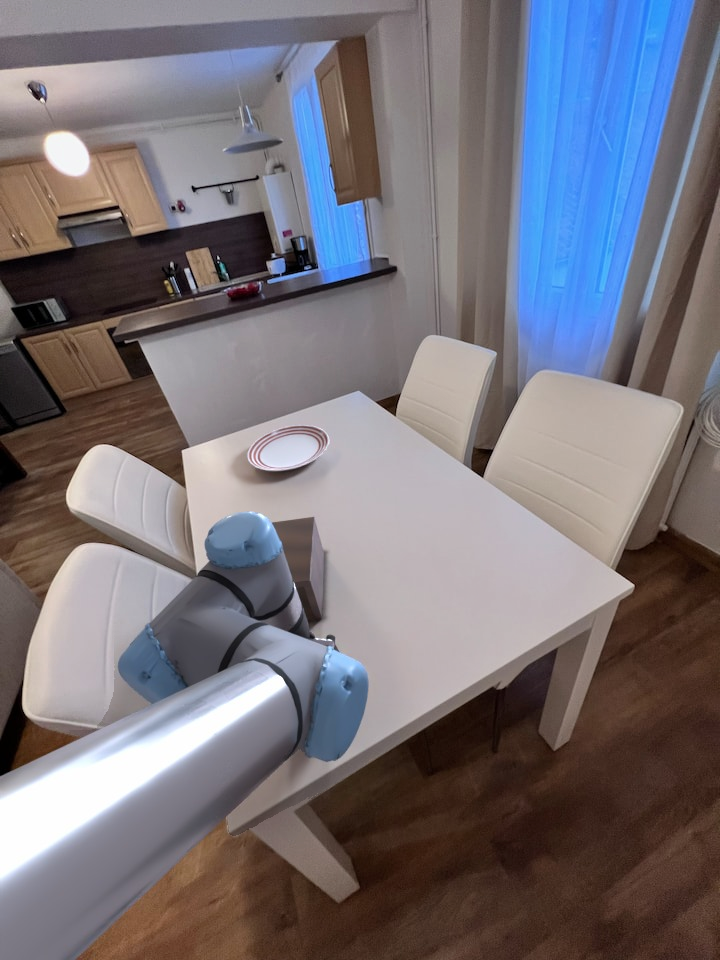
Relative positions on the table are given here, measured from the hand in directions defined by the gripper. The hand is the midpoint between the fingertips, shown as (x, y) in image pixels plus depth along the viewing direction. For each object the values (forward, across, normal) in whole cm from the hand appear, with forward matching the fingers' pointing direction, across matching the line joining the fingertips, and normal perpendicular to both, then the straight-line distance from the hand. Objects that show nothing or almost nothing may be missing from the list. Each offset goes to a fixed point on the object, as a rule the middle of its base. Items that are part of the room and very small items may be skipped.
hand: (310, 701), depth 65 cm
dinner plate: (+2, +26, -80) cm, 84 cm away
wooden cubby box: (+2, +11, -24) cm, 27 cm away
